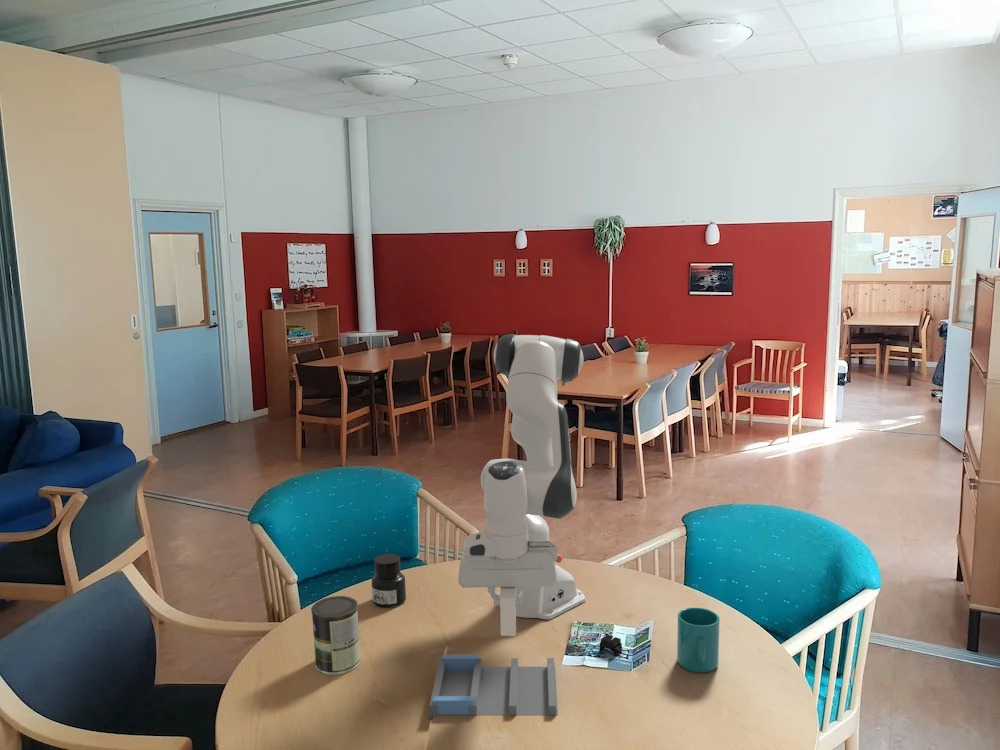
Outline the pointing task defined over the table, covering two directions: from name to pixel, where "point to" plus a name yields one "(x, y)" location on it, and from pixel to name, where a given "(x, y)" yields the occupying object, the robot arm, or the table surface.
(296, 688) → the table surface
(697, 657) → the cup
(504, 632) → the plug block
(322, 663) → the coffee can
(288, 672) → the table surface
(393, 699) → the table surface
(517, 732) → the table surface
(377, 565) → the ink bottle
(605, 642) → the black notched block
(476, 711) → the board
